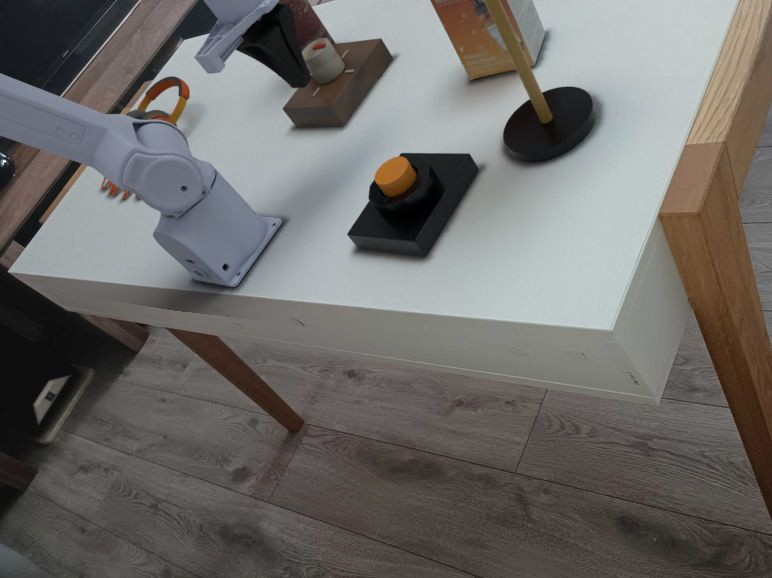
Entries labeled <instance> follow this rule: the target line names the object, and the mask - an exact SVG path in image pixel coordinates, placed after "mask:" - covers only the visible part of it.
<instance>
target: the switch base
mask: <svg viewBox="0 0 772 578" xmlns="http://www.w3.org/2000/svg"><path fill="white" fill-rule="evenodd" d="M398 157H405V158H406V159H407V160H408V162H409V163H410V165H411V166H412V168H413V169H414V171H415V172H416V174H417V178H416V180H415V182H414V183H413V185H412V186H411V187H410V188H408V189H407V190H406V191H405V192H403V193H402V194H400V195H397V196H394V197H387V196H386V195H385V194H384V193H383V192H382V190H381V189H380V187H379V186H378V185H377V183H376V182H375V179H373V180H372V182H371V184H369V189H368V202H367V203H366V204H365V206H364V208H363V209H362V211H361V212H360V213H359V215H358V216H357V218H356V220H355V222H354V223H353V224H352V226H351V227H350V229H349V230H348V232H347V233H346V235H347V237H348V238H349V239H350V240H351V242H352V243H353V244H354V245H355V246H356V247H357V249H359V250H367V251H374V252H384V253H391V254H400V255H409V256H417V257H427V256H428V255H429V253H430V252H431V249H432V248H433V246H434V245H435V243H436V241H437V240H438V238H439V237H440V236H441V234H442V232H443V230H444V228H445V226H446V225H447V223H448V222H449V220H450V218H451V217H452V215H453V213H454V212H455V210H456V208H457V207H458V206H459V204H460V202H461V200H462V199H463V197H464V196H465V194H466V192H467V191H468V189H469V187H470V185H472V182H473V181H474V180H475V177H476V176H477V174H478V173H479V171H480V168H479V166H478V165H477V163H476V162H475V160H474V157H473V156H472V155H471V153H469V152H468V153H466V152H465V153H461V152H459V153H458V152H456V153H455V152H454V153H453V152H441V153H440V152H401V153H400V154H399V156H398Z"/></svg>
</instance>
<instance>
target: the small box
mask: <svg viewBox="0 0 772 578" xmlns="http://www.w3.org/2000/svg"><path fill="white" fill-rule="evenodd" d="M429 1H430V3H431V5H432V7H433V8H434V11H435V13H436V15H437V17H438V19H439V21H440V24H441V25H442V27H443V29H444V31H445V32H446V35H447V37H448V39H449V41H450V43H451V45H452V47H453V49H454V51H455V52H456V55H457V57H458V59H459V61H460V62H461V65H462V66H463V69H464V70H465V72H466V74H467V76H468V79H469V80H471V81H472V80H476V79H479V78H484V77H488V76H491V75H492V76H493V75H496V74H502V73H506V72H510V71H517V70H516V68H515V66H514V64H513V62H512V60H511V57H510V55H509V53H508V51H507V49H506V47H505V45H504V43H503V40H502V38H501V36H500V34H499V32H498V30H497V28H496V26H495V23H494V21H493V19H492V17H491V15H490V13H489V11H488V8H487V6H486V4H485V2H484V0H429ZM500 1H501V3H502V6H503V8H504V10H505V12H506V14H507V17H508V19H509V21H510V23H511V25H512V28H513V30H514V32H515V34H516V37H517V39H518V41H519V43H520V45H521V48H522V50H523V52H524V54H525V56H526V59H527V61H528V63H529V65H530V67H531V68H532V67H535V65H536V63H537V60H538V58H539V57H538V56H539V53H540V50H541V49H542V45H543V42H544V39H545V36H546V30H545V28H544V25H543V23H542V21H541V18H540V15H539V13H538V10H537V8H536V5H535V3H534V1H533V0H500Z"/></svg>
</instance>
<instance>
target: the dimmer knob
mask: <svg viewBox="0 0 772 578" xmlns="http://www.w3.org/2000/svg"><path fill="white" fill-rule="evenodd" d="M302 55H303V58H304V60H305V63H306V65H307V68H308V69H309V71H310V72H311V74H312V75H313V77H314V78H315V79H316V81H317V82H318V83H319V84H326V83H329V82H331V81H332V80H334V79H335V78H337V77H338V76H339V75H340V74H341V73H342V71H343V70H344V67H345V64H344V62H343V61H342V59H341V58H340V56H339V55H338V53H337V52H336V50H335V49H334V47H333V46H332V44H331V43H330V41H329V40H328V39H327V38H320V39H317V40H315V41H313V42H312V43H310V44H309V45H308V46H307V47H306V48H305V49H304V50H303V51H302Z"/></svg>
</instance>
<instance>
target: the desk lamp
mask: <svg viewBox="0 0 772 578" xmlns="http://www.w3.org/2000/svg"><path fill="white" fill-rule="evenodd" d="M484 2H485V4H486V6H487V8H488V11H489V13H490V15H491V17H492V19H493V21H494V23H495V26H496V28H497V30H498V32H499V34H500V36H501V38H502V40H503V43H504V45H505V47H506V49H507V51H508V53H509V55H510V57H511V60H512V62H513V64H514V66H515V68H516V70H515V71H516V72H517V74H518V76H519V79H520V81H521V84H522V85H523V87H524V89H525V91H526V94H527V95H528V98H529V99H527V100H526V101H525V102H524V103H522V104H520V106H519V107H517V109H516V110H515V111H513V112H512V114H511V115H510V117H509V118H508V120H507V121H506V123H505V126H504V127H503V132H502V139H503V143H504V145H505V147H506V149H507V150H508V153H509V154H510V155H511V157H513V158H514V159H516V160H517V161H519V162H523V163H531V164H534V163H543V162H547V161H550V160H553V159H556V158H559V157H560V156H563V155H564V154H567V153H568V152H570V151H572V150H573V149H575V148H576V147H577V146H579V144H581V143H582V142H583V141H584V140H585V139H586V137H588V135H589V134H590V133H591V131H592V129H593V128H594V126H595V125H596V120H597V116H598V115H597V114H598V113H597V107H596V105H595V102H594V100H593V97H592V96H591V95H590V93H589V92H588V91H586V90H585V89H583V88H581V87H577V86H571V85H569V86H568V85H567V86H559V87H558V86H557V87H554V88H551V89H550V88H549V89H547V90H544V91H542V89H541V88H540V87H541V86H540V85H539V83H538V81H537V79H536V77H535V74H534V72H533V69H532V67H530V65H529V63H528V61H527V59H526V56H525V54H524V52H523V50H522V48H521V45H520V43H519V41H518V39H517V37H516V34H515V32H514V30H513V28H512V25H511V23H510V21H509V19H508V17H507V14H506V12H505V10H504V8H503V6H502V3H501V1H500V0H484Z"/></svg>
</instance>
